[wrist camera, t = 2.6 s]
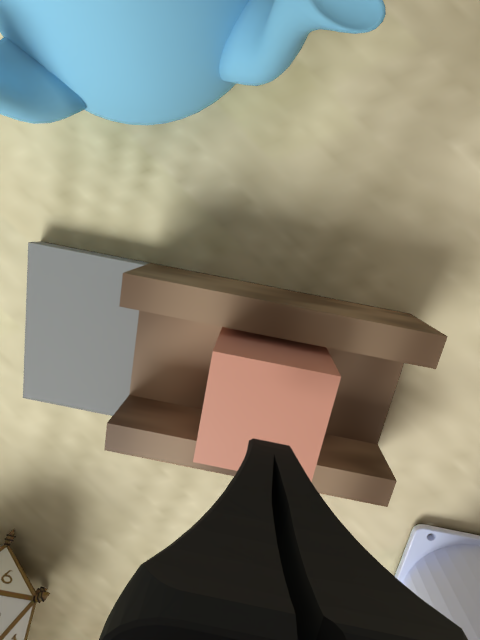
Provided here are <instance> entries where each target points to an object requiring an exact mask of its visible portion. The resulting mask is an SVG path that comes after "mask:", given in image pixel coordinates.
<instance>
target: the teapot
mask: <svg viewBox="0 0 480 640" xmlns="http://www.w3.org/2000/svg"><path fill="white" fill-rule="evenodd" d="M385 14H386V13H385V5H384V2H383V0H0V33H1V34H2V35H3V37H4V38H2V39H1V40H0V114H2V115H4V116H7V117H10V118H13V119H16V120H19V121H24V122H29V123H52V122H55V121H58V120H62V119H65V118H67V117H69V116H71V115H74V114H76V113H78V112H80V111H82V110H86V111H88V112H90V113H92V114H94V115H96V116H99V117H102V118H105V119H108V120H111V121H115V122H120V123H125V124H132V125H154V124H163V123H168V122H172V121H176V120H180V119H183V118H185V117H188V116H190V115H193V114H195V113H197V112H199V111H201V110H203V109H204V108H206V107H208V106H209V105H211V104H213V103H214V102H216V101H217V100H218V99H219V98H221V97H222V96H223V95H224V94H226V93H227V92H228V91H229V90H230V89H231V88H232V87H233V86H234V85H235V84H236V83H238V84H243V85H252V86H258V85H262V84H265V83H268V82H271V81H273V80H274V79H276V78H277V77H278V76H279V75H281V74H282V73H283V72H284V71H285V70H286V69H287V68H288V67H289V66H290V65H291V63H292V62H293V60H294V59H295V57H296V56H297V54H298V53H299V51H300V50H301V48H302V46H303V44H304V42H305V40H306V38H307V36H308V34H309V33H310V32H311V31H314V30H318V29H324V30H332V31H337V32H344V33H353V34H357V33H365V32H369V31H372V30H374V29H376V28H377V27H378V26H379V25H380V24H381V23H382V22H383V19H384V17H385Z"/></svg>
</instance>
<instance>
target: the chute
mask: <svg viewBox="0 0 480 640" xmlns="http://www.w3.org/2000/svg"><path fill="white" fill-rule="evenodd" d="M119 307H124V308H129V309H134V310H139V317H138V325H137V334H136V342H135V350H134V359H133V367H132V376H131V384H130V393H129V396H128V397H127V398H126V400H125V401H124V402H123V403H122V405H121V406H120V407H119V409H118V410H117V411H116V412H115V414H114V415H113V416H112V418H111V419H110V420H109V421H108V423H107V430H106V440H105V450H107V451H112V452H117V453H122V454H127V455H132V456H137V457H142V458H147V459H152V460H157V461H162V462H167V463H172V464H177V465H182V466H186V467H191V468H196V469H201V470H206V471H211V472H216V473H221V474H226V475H231V476H235V475H236V473H237V471H235V470H230V469H225V468H220V467H215V466H210V465H205V464H200V463H195V462H193V459H194V453H195V448H196V442H197V437H198V431H199V425H200V420H201V414H202V408H203V403H204V397H205V392H206V386H207V380H208V375H209V369H210V364H211V358H212V352H213V349H214V347H215V344H216V341H217V339H218V336H219V334H220V331H221V329H222V327H225V328H230V329H235V330H241V331H246V332H251V333H256V334H261V335H266V336H271V337H276V338H281V339H286V340H291V341H296V342H301V343H307V344H312V345H317V346H322V347H326V348H327V350H328V352H329V354H330V356H331V358H332V360H333V362H334V364H335V365H336V367H337V369H338V371H339V373H340V375H341V379H340V383H339V386H338V390H337V393H336V397H335V401H334V404H333V408H332V411H331V415H330V418H329V422H328V425H327V429H326V433H325V436H324V440H323V443H322V447H321V450H320V454H319V457H318V461H317V465H316V468H315V472H314V475H313V479H312V484H313V485H314V487H315V488H316V490H317V491H318V493H321V494H326V495H331V496H336V497H341V498H346V499H351V500H356V501H361V502H366V503H371V504H376V505H381V506H386V507H388V504H389V501H390V498H391V495H392V492H393V489H394V487H395V484H396V479H395V477H394V475H393V473H392V471H391V469H390V468H389V466H388V464H387V462H386V460H385V458H384V456H383V454H382V452H381V450H380V448H379V446H378V441H379V438H380V435H381V432H382V429H383V426H384V423H385V420H386V416H387V413H388V410H389V407H390V404H391V401H392V398H393V395H394V392H395V389H396V386H397V383H398V380H399V377H400V374H401V371H402V367H403V364H404V363H408V364H413V365H418V366H423V367H428V368H433V369H436V367H437V365H438V362H439V359H440V356H441V353H442V350H443V348H444V345H445V342H446V339H447V336H446V335H444V334H442V333H441V332H439V331H438V330H436V329H434V328H433V327H431V326H429V325H428V324H426V323H424V322H423V321H421V320H420V319H418V318H416V317H415V316H413V315H411V314H408V313H403V312H398V311H392V310H387V309H382V308H377V307H372V306H367V305H362V304H357V303H352V302H347V301H341V300H336V299H331V298H326V297H321V296H316V295H311V294H306V293H301V292H295V291H290V290H285V289H280V288H275V287H270V286H265V285H260V284H255V283H249V282H244V281H239V280H234V279H229V278H224V277H219V276H214V275H209V274H203V273H198V272H193V271H188V270H183V269H178V268H173V267H168V266H163V265H158V264H152V263H149V264H146V265H144V266H141V267H138V268H135V269H132V270H129V271H127V272H124V273H123V276H122V286H121V295H120V305H119Z"/></svg>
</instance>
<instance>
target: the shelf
mask: <svg viewBox="0 0 480 640" xmlns="http://www.w3.org/2000/svg"><path fill="white" fill-rule="evenodd" d="M146 264H149V263H147V262H142V261H137V260H132V259H127V258H122V257H117V256H112V255H106V254H101V253H96V252H91V251H86V250H81V249H76V248H71V247H66V246H60V245H55V244H50V243H45V242H28V270H27V299H26V327H25V355H24V384H23V398H26V399H31V400H36V401H41V402H46V403H51V404H56V405H61V406H66V407H71V408H76V409H81V410H86V411H91V412H96V413H101V414H106V415H111V416H113V415H114V414H115V412H116V411H117V410H118V409H119V407H120V406H121V405H122V403H123V402H124V401H125V400H126V398H127V397H128V396H129V393H130V384H131V376H132V367H133V359H134V350H135V342H136V334H137V325H138V317H139V310H134V309H129V308H124V307H119V305H120V295H121V286H122V276H123V273H124V272H127V271H129V270H132V269H135V268H138V267H141V266H144V265H146Z"/></svg>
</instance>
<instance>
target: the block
mask: <svg viewBox="0 0 480 640" xmlns="http://www.w3.org/2000/svg"><path fill="white" fill-rule="evenodd" d="M340 379H341V375H340V373H339V371H338V369H337V367H336V365H335V364H334V362H333V360H332V358H331V356H330V354H329V352H328V350H327V348H326V347H322V346H317V345H312V344H307V343H301V342H296V341H291V340H286V339H281V338H276V337H271V336H266V335H261V334H256V333H251V332H246V331H241V330H235V329H230V328H225V327H222V329H221V331H220V334H219V336H218V339H217V341H216V344H215V347H214V349H213V352H212V358H211V364H210V369H209V375H208V380H207V386H206V392H205V397H204V403H203V408H202V414H201V420H200V425H199V431H198V437H197V442H196V448H195V453H194V459H193V462H195V463H200V464H205V465H210V466H215V467H220V468H225V469H230V470H235V471H238V469H239V467H240V466H241V464H242V462H243V460H244V458H245V455H246V452H247V447H248V443H249V440H251V439H253V438H254V439H259V440H264V441H269V442H274V443H279V444H284V445H289V446H290V447H291V448H292V450H293V452H294V454H295V455H296V457H297V459H298V461H299V462H300V464H301V466H302V467H303V469H304V471H305V472H306V474H307V476H308V477H309V479H310V481H311V482H312V479H313V475H314V472H315V468H316V465H317V461H318V457H319V454H320V450H321V447H322V443H323V440H324V436H325V433H326V429H327V425H328V422H329V418H330V415H331V411H332V408H333V404H334V401H335V397H336V393H337V390H338V386H339V383H340Z"/></svg>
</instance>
